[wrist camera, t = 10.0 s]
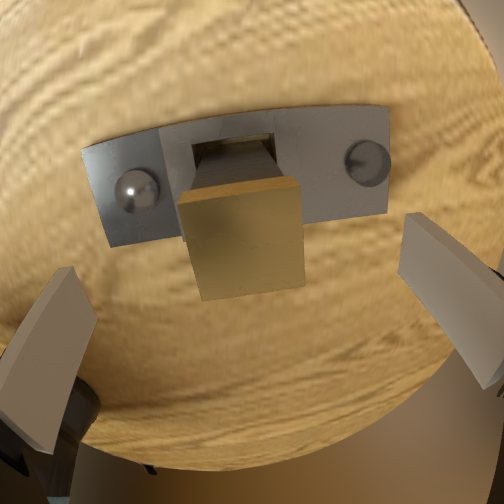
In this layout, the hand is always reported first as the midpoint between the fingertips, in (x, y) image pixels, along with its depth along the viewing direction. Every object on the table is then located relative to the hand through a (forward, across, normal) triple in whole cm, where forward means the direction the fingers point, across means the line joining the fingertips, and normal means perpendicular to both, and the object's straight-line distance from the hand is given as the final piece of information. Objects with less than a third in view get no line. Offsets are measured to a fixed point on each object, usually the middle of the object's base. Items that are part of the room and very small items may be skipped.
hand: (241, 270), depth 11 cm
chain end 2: (+14, +5, 0) cm, 15 cm away
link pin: (+14, 0, 0) cm, 14 cm away
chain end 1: (+14, -3, 0) cm, 15 cm away
